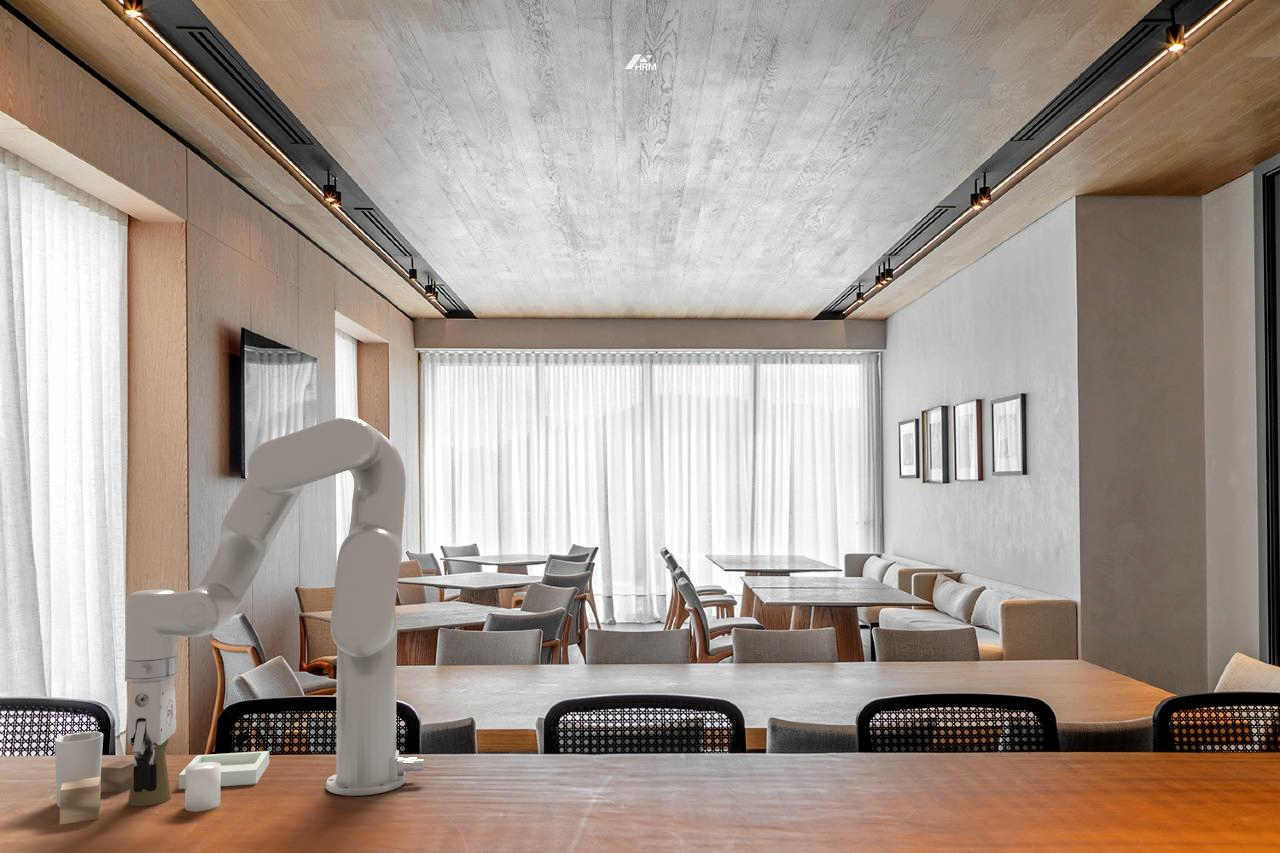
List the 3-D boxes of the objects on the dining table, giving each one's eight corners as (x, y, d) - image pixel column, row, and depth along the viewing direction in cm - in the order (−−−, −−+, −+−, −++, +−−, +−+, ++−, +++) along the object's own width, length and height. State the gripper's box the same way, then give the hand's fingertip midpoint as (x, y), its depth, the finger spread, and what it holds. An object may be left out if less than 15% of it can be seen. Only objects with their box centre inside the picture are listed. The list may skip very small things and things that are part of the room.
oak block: (100, 809, 152) (100, 776, 152) (98, 819, 148) (99, 785, 148) (62, 815, 150) (63, 781, 150) (59, 825, 145) (60, 790, 146)
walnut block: (137, 785, 164) (137, 761, 164) (120, 793, 160) (121, 768, 161) (115, 784, 165) (115, 760, 165) (98, 792, 161) (99, 767, 161)
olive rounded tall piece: (153, 807, 152) (154, 734, 153) (119, 805, 154) (120, 733, 154) (179, 795, 158) (179, 725, 159) (145, 793, 160) (146, 723, 160)
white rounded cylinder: (223, 799, 156) (223, 761, 156) (216, 810, 151) (216, 769, 151) (189, 802, 155) (190, 763, 155) (181, 812, 150) (181, 772, 150)
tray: (269, 764, 176) (269, 750, 176) (256, 783, 164) (256, 769, 164) (196, 768, 173) (197, 755, 173) (178, 789, 162) (178, 774, 162)
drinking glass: (112, 797, 158) (113, 733, 159) (75, 810, 152) (77, 743, 152) (80, 793, 160) (81, 730, 161) (43, 806, 154) (44, 740, 154)
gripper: (161, 677, 150) (160, 801, 149) (190, 658, 166) (188, 769, 165) (108, 680, 148) (105, 804, 147) (142, 660, 165) (140, 773, 164)
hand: (149, 785), depth 156 cm, fingers closed on olive rounded tall piece, 4 cm apart
